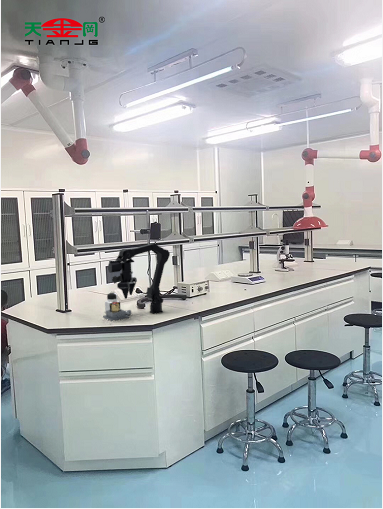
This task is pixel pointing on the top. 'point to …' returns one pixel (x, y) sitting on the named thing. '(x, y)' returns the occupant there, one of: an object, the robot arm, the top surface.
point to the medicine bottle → (111, 298)
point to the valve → (115, 307)
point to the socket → (117, 314)
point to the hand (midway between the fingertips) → (128, 296)
